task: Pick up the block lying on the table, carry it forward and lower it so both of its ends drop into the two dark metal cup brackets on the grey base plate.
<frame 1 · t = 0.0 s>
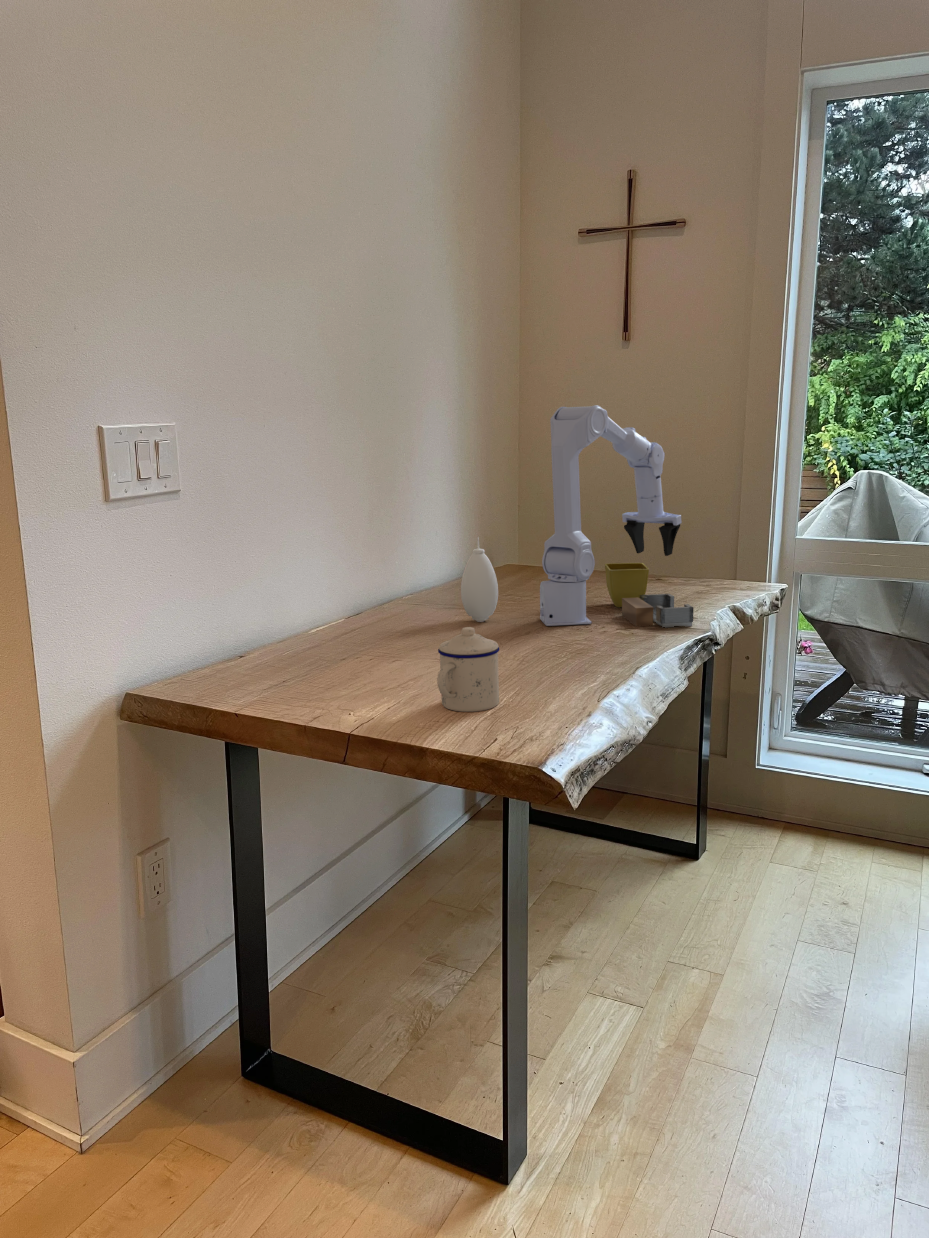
hand: (654, 553, 215), 11 cm above the table, tool pointing down, fingers open, 7 cm apart
teacup with lid: (464, 707, 139), on the table
flower pot: (626, 606, 210), on the table
bracket: (665, 618, 195), on the table
white rubber air blower: (480, 622, 198), on the table
block: (637, 621, 194), on the table
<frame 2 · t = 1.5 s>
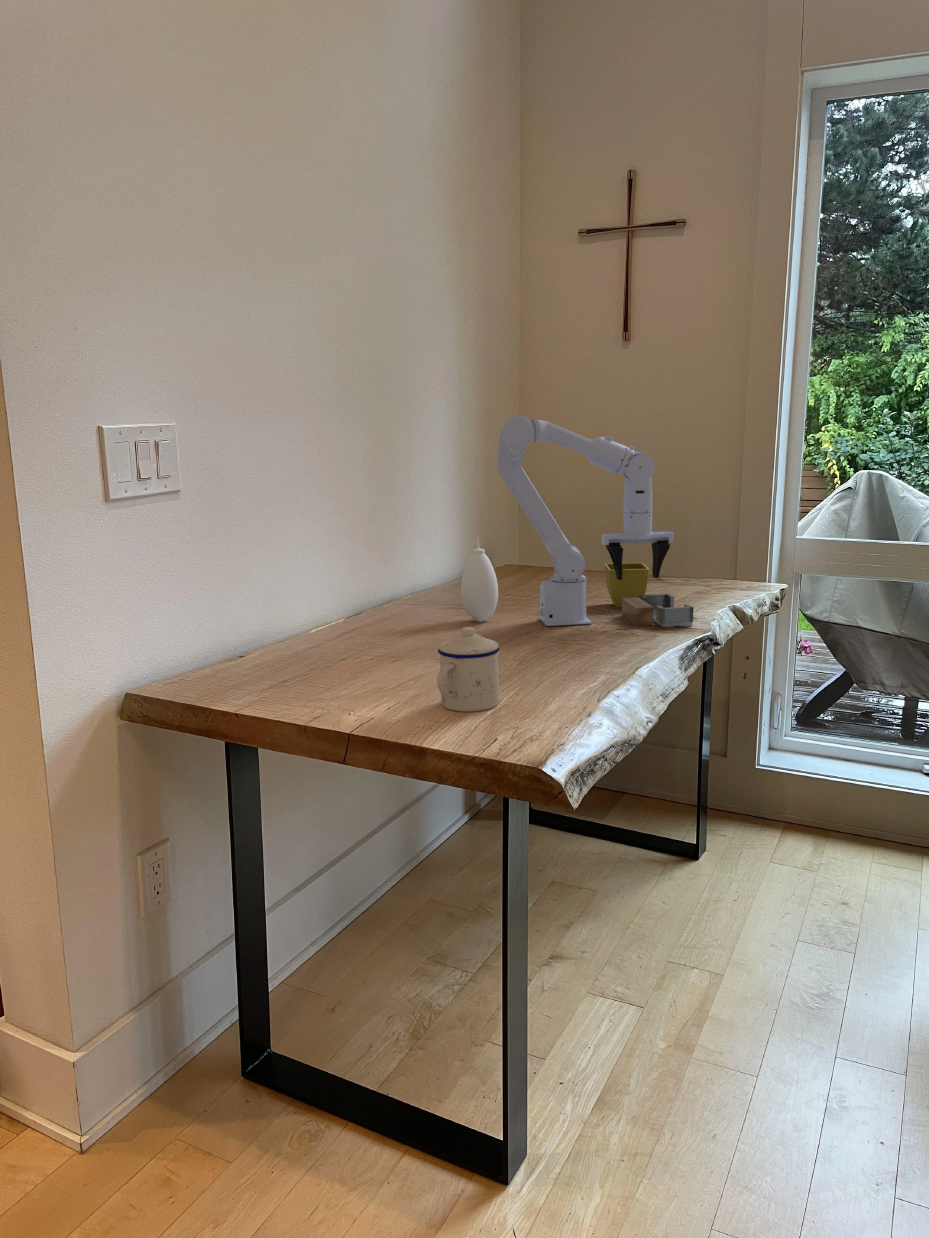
hand: (637, 578, 192), 9 cm above the table, tool pointing down, fingers open, 7 cm apart
nothing on the table moved.
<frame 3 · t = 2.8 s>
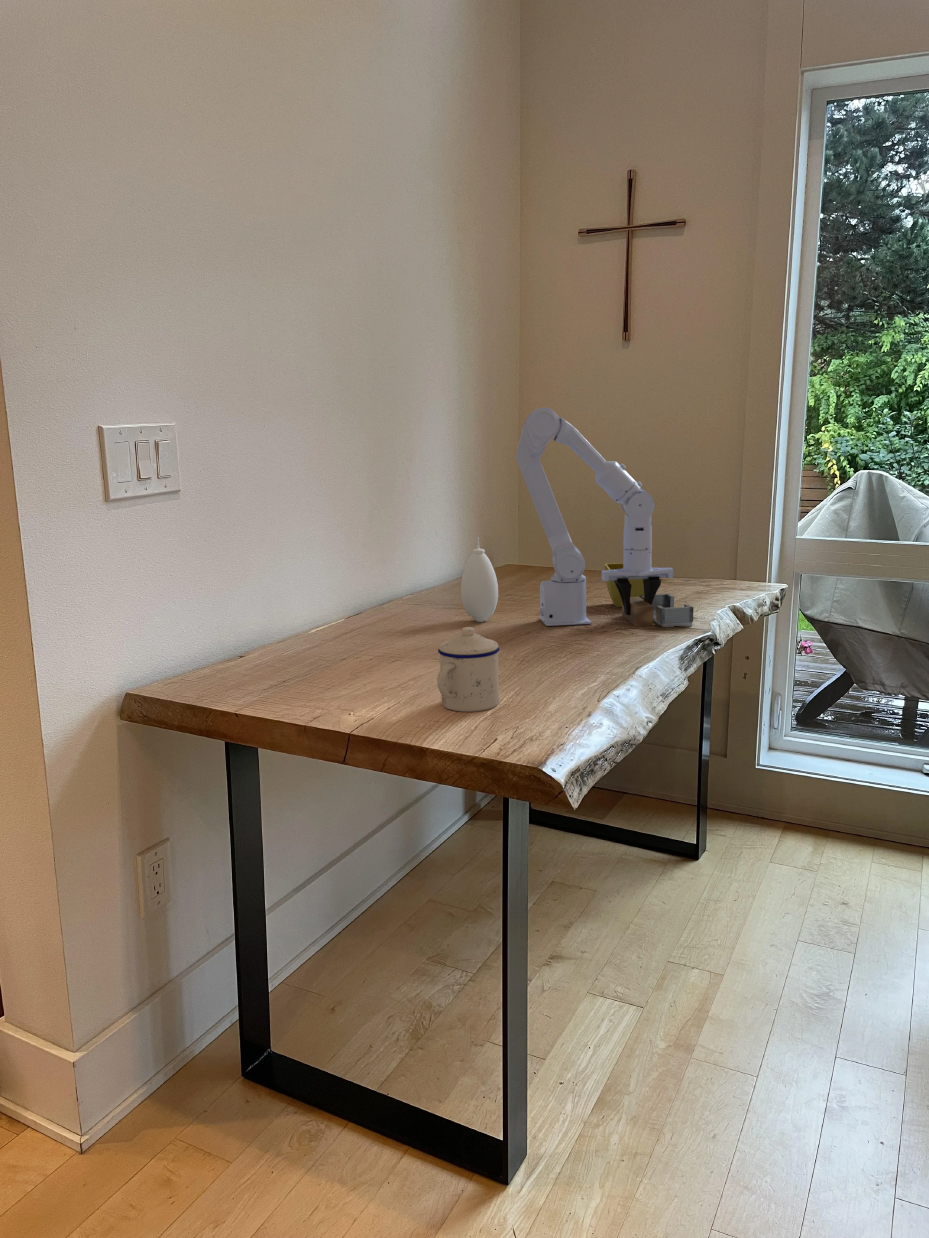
hand: (637, 613, 194), 1 cm above the table, tool pointing down, fingers closed on block, 3 cm apart
block: (637, 620, 194), on the table, touching gripper
everything else where it was.
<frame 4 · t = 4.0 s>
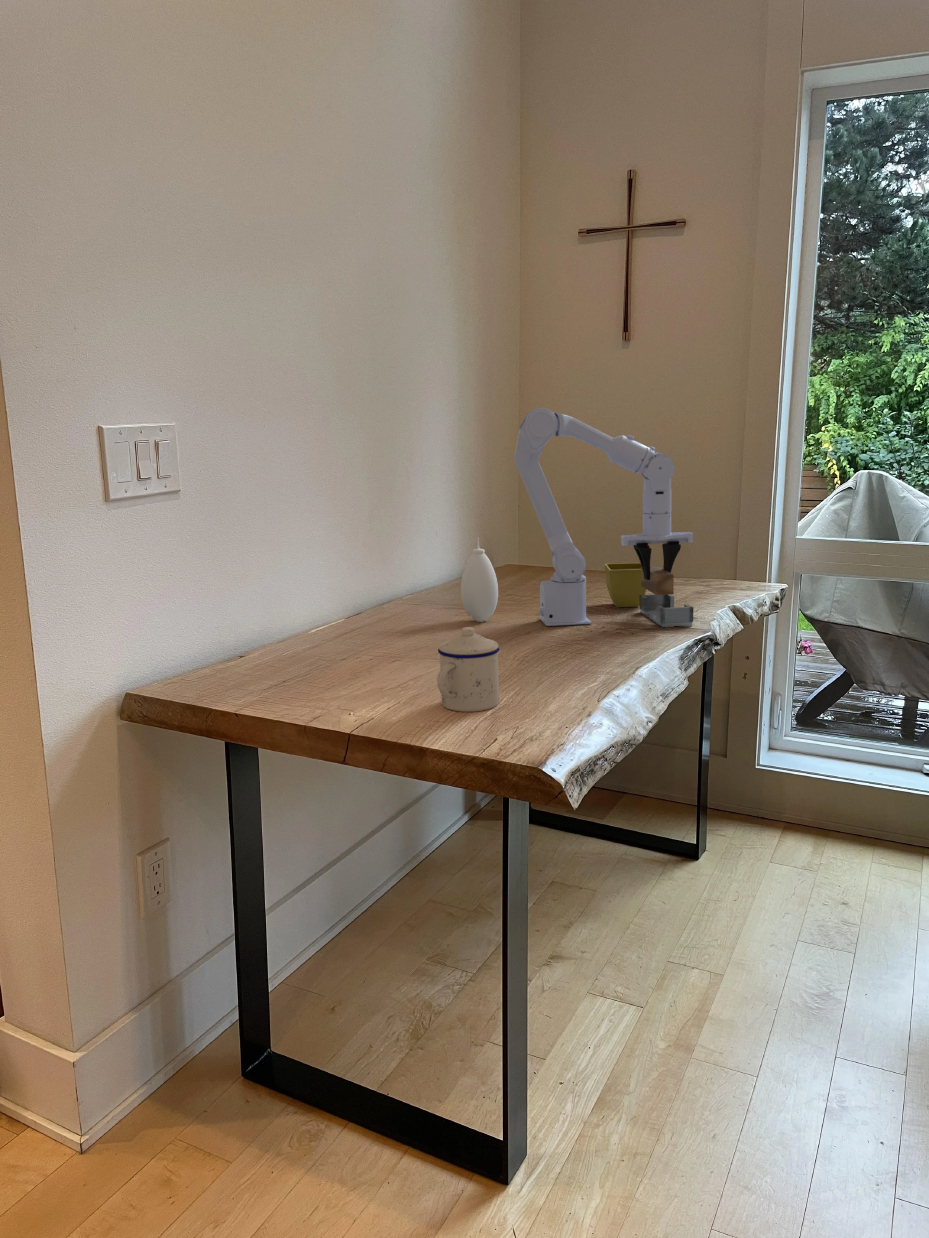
hand: (656, 578, 193), 9 cm above the table, tool pointing down, fingers closed on block, 3 cm apart
block: (656, 589, 193), point 6 cm above the table, touching gripper
everything else where it was.
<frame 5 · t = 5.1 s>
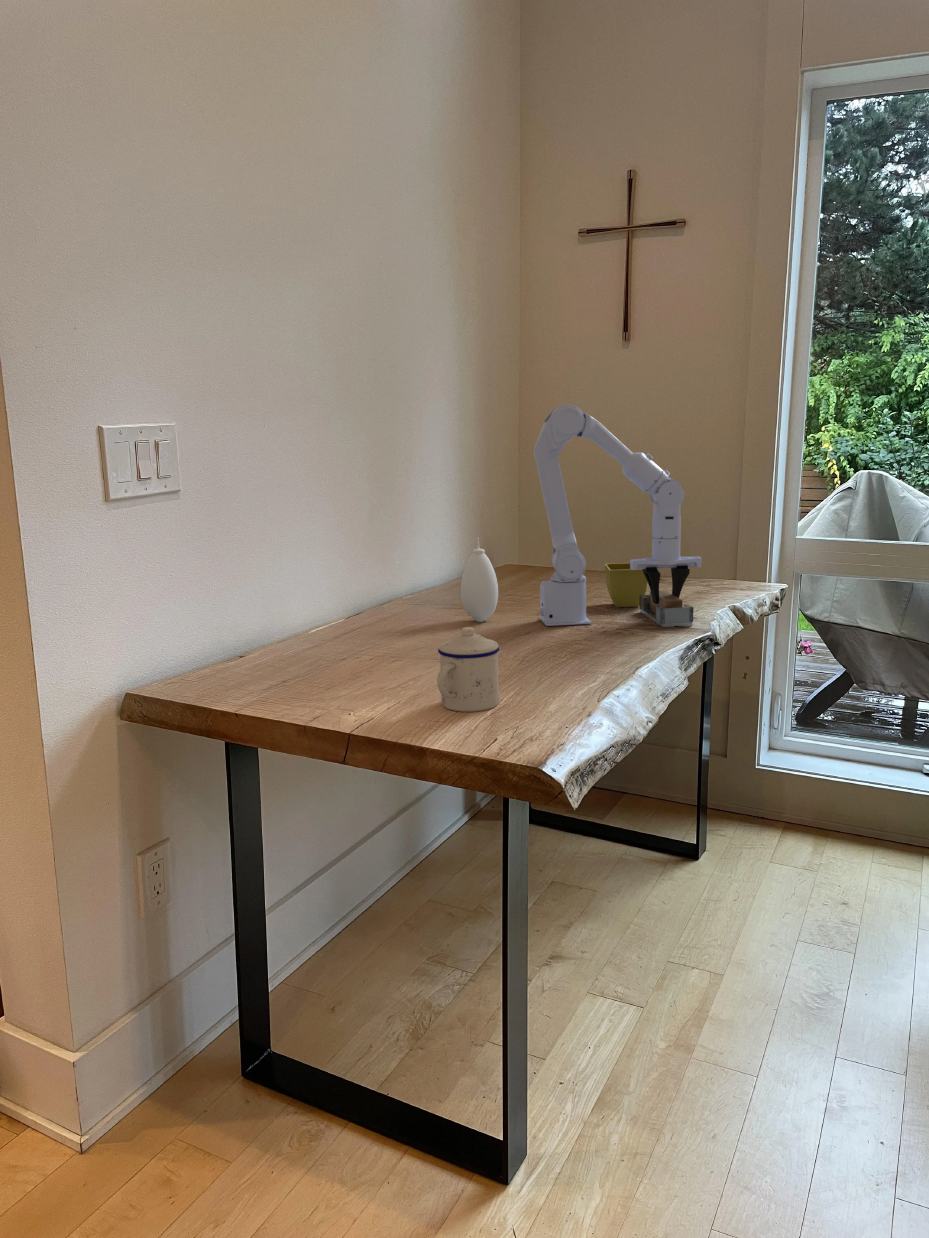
hand: (665, 602, 194), 3 cm above the table, tool pointing down, fingers closed on block, 3 cm apart
block: (665, 614, 194), point 1 cm above the table, touching gripper
everything else where it was.
when the fingers open (3 cm above the table, at t = 5.4 s): block stays where it is, resting on bracket.
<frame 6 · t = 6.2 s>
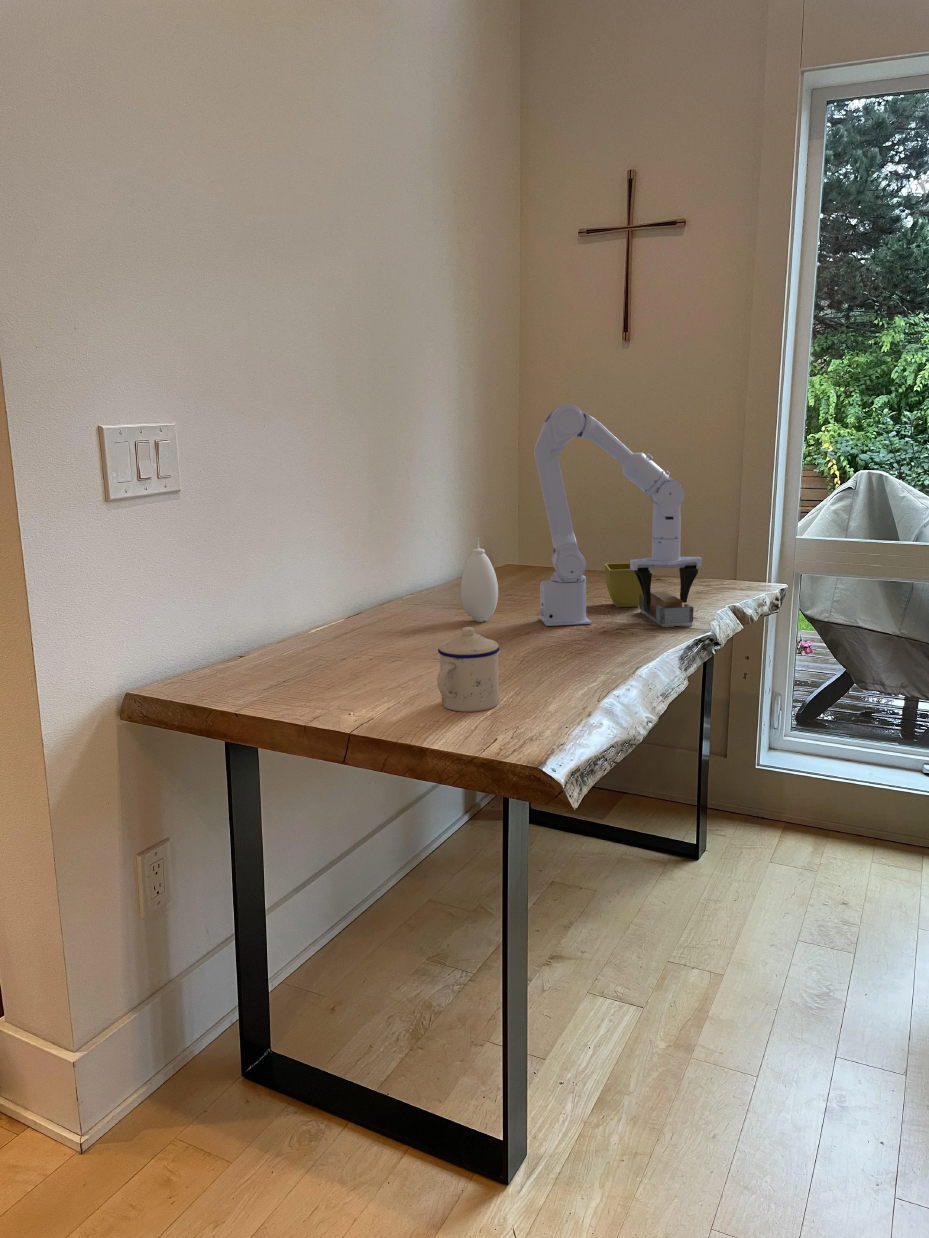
hand: (665, 602, 194), 3 cm above the table, tool pointing down, fingers open, 7 cm apart
block: (665, 615, 194), point 1 cm above the table, touching bracket
everything else where it was.
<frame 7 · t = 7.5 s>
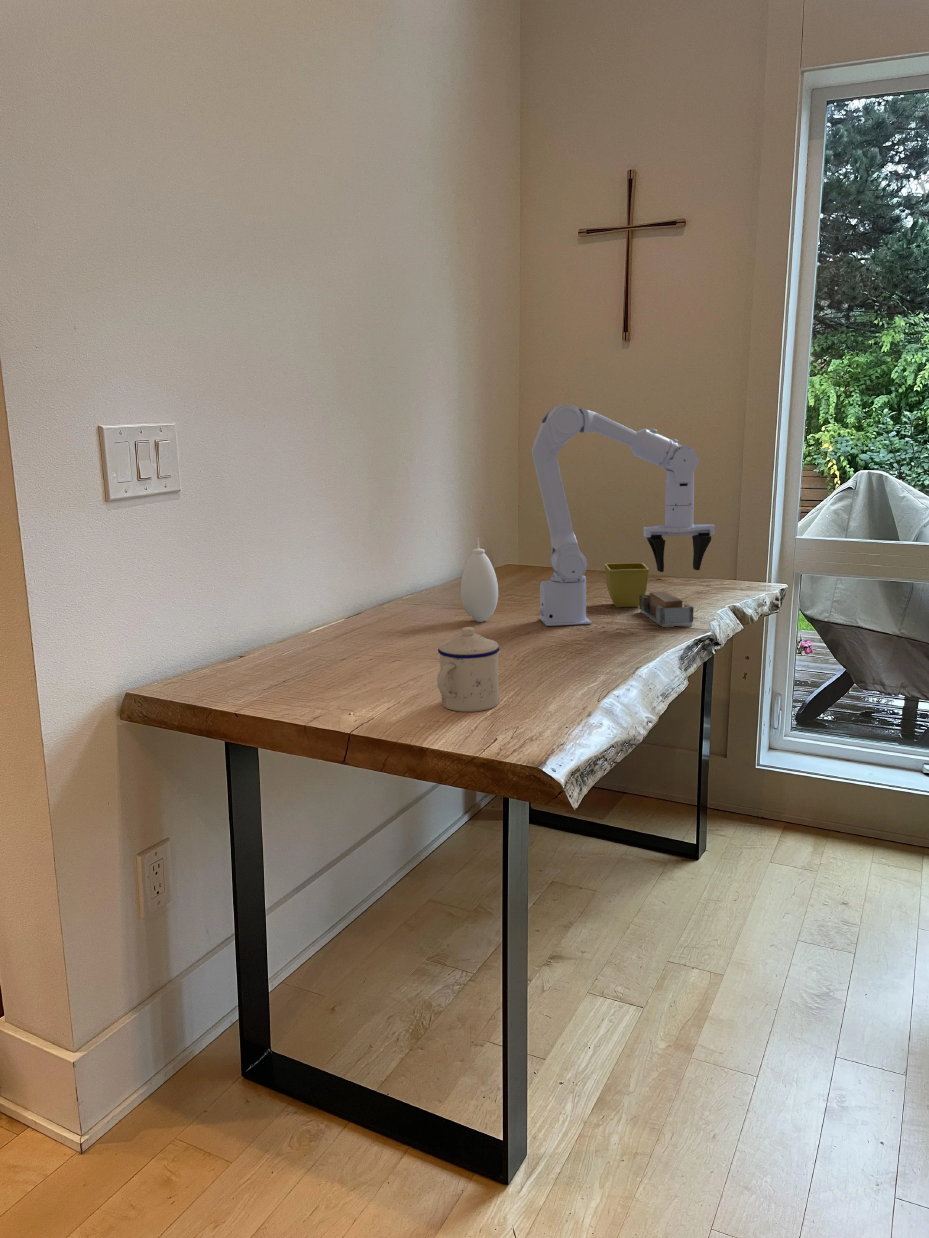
hand: (678, 570, 194), 10 cm above the table, tool pointing down, fingers open, 7 cm apart
nothing on the table moved.
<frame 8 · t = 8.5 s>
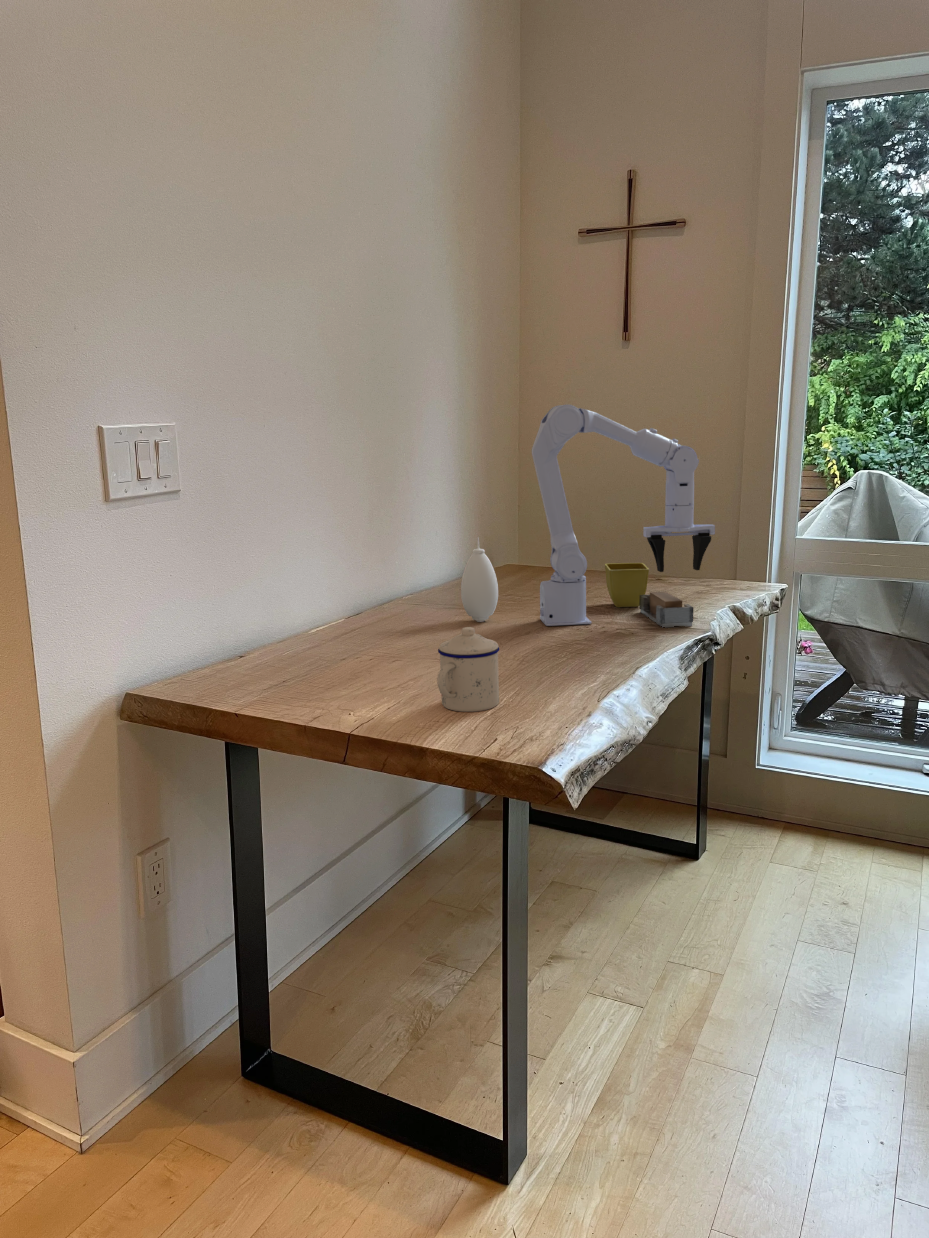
hand: (678, 570, 194), 10 cm above the table, tool pointing down, fingers open, 7 cm apart
nothing on the table moved.
at the end: block 0.1 cm off-centre on the bracket, point 0.8 cm above the bracket's base; block tilted 0°; the gripper is holding nothing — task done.
